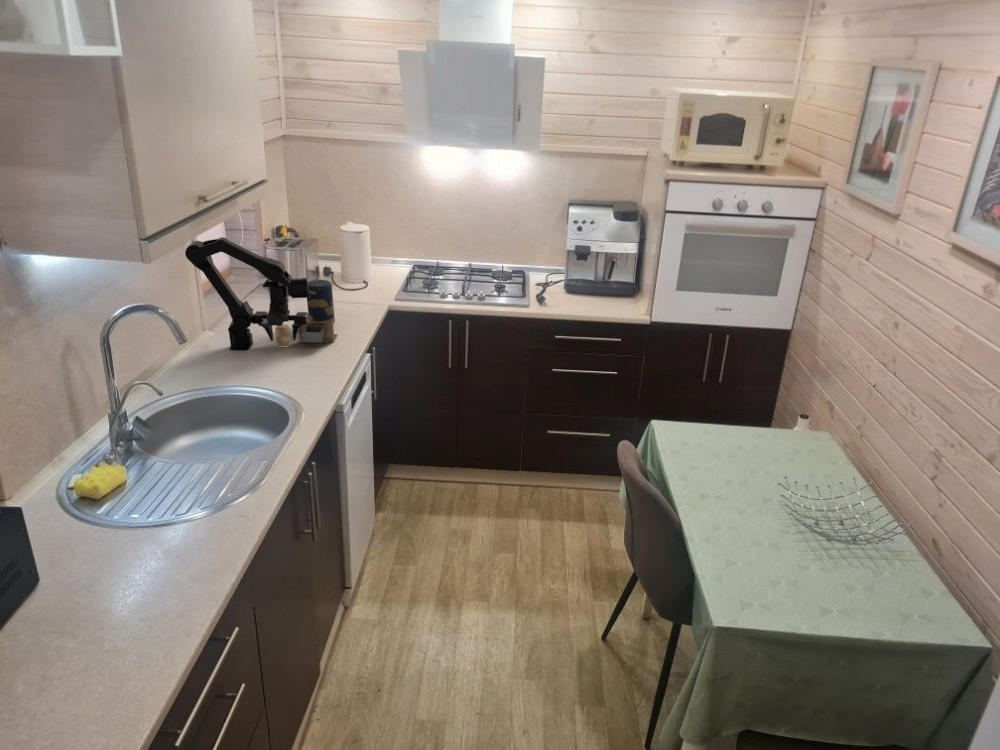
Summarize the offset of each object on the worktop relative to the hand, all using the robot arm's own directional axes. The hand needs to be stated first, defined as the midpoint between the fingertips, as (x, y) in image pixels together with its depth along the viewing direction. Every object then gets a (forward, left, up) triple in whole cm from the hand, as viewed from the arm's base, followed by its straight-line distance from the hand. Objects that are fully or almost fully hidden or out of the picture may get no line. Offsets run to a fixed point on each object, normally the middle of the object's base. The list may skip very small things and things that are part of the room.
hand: (283, 340), depth 247 cm
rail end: (0, 0, -2) cm, 2 cm away
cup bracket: (+11, +3, -1) cm, 12 cm away
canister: (+9, +21, -2) cm, 22 cm away
